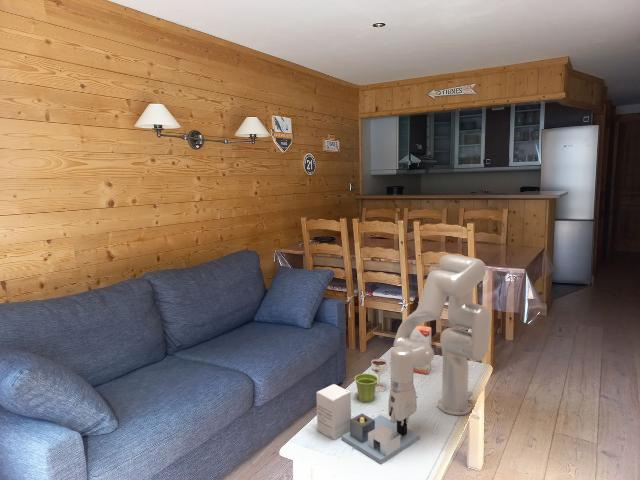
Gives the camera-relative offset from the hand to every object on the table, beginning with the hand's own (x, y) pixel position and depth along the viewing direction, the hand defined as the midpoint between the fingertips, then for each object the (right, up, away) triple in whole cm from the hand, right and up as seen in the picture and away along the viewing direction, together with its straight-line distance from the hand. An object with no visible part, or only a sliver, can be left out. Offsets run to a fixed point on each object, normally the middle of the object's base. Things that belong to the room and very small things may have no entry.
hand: (401, 433), depth 158 cm
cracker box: (+15, +6, +54) cm, 56 cm away
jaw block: (-14, -1, 0) cm, 14 cm away
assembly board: (-7, -2, +1) cm, 8 cm away
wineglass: (-3, +3, +37) cm, 37 cm away
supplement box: (-23, -2, +7) cm, 24 cm away
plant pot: (-9, +2, +29) cm, 30 cm away
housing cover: (-7, -2, -6) cm, 9 cm away
